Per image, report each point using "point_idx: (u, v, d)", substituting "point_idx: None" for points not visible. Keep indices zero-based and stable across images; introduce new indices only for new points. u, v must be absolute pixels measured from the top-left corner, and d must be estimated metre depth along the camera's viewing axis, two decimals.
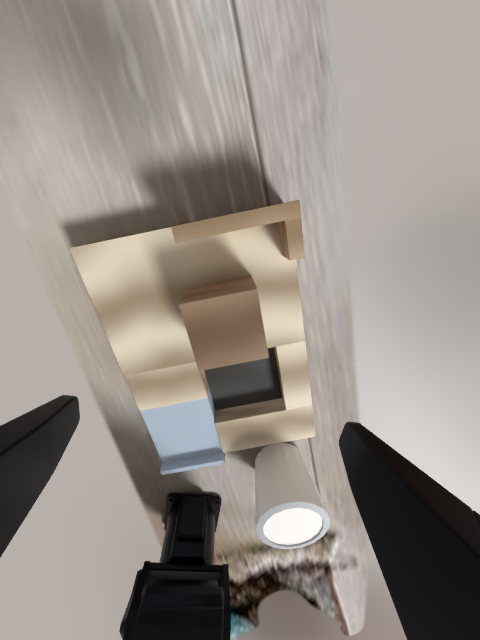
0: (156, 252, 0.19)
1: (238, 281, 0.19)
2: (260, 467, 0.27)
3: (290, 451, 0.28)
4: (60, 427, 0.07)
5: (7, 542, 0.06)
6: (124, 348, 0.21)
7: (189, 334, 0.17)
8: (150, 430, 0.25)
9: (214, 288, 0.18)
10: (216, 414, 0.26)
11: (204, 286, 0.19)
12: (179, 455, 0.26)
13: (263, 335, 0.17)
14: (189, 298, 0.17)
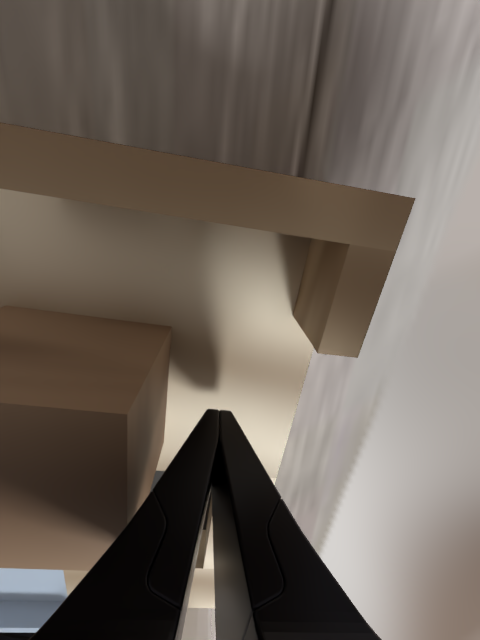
0: None
1: (126, 336, 0.07)
2: None
3: (192, 608, 0.17)
4: None
5: (198, 549, 0.06)
6: None
7: None
8: None
9: (43, 339, 0.06)
10: None
11: (42, 317, 0.07)
12: None
13: (122, 527, 0.06)
14: None
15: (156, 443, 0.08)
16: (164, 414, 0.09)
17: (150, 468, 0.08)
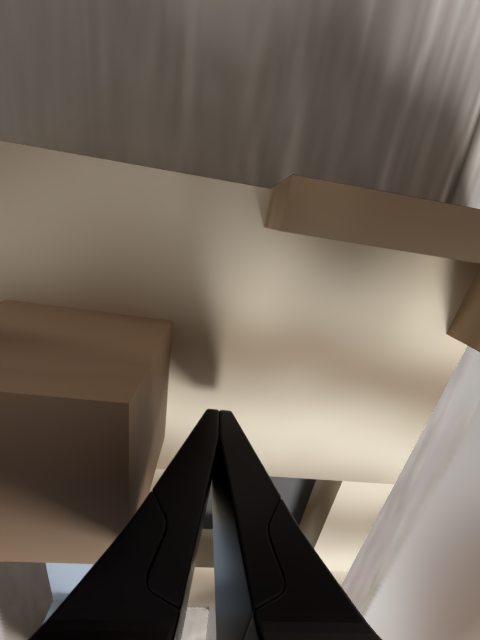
0: (191, 233, 0.07)
1: (126, 329, 0.07)
2: None
3: None
4: None
5: None
6: None
7: None
8: None
9: (44, 332, 0.06)
10: None
11: (42, 310, 0.07)
12: None
13: (123, 519, 0.06)
14: None
15: (157, 437, 0.08)
16: (165, 409, 0.09)
17: (151, 462, 0.08)
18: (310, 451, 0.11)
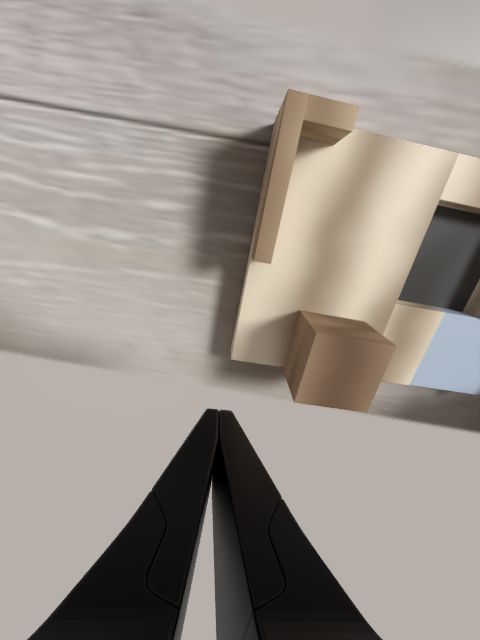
0: (266, 288, 0.18)
1: (299, 329, 0.18)
2: None
3: None
4: None
5: None
6: None
7: (326, 405, 0.17)
8: (437, 387, 0.22)
9: (294, 355, 0.18)
10: (469, 312, 0.20)
11: (288, 357, 0.19)
12: None
13: (368, 343, 0.15)
14: (293, 386, 0.17)
15: (354, 325, 0.18)
16: (345, 319, 0.19)
17: (363, 329, 0.17)
18: (403, 226, 0.17)
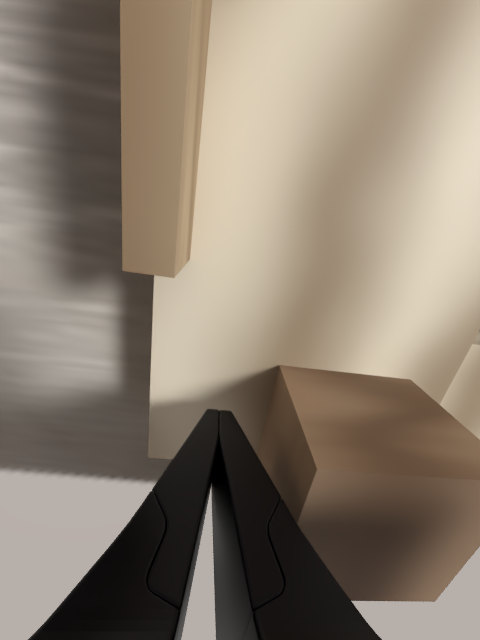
0: (199, 325, 0.08)
1: (278, 410, 0.08)
2: None
3: None
4: None
5: (198, 549, 0.06)
6: None
7: None
8: None
9: (271, 468, 0.08)
10: None
11: (261, 453, 0.10)
12: None
13: (457, 482, 0.06)
14: None
15: (398, 400, 0.08)
16: (373, 379, 0.09)
17: (421, 416, 0.07)
18: None
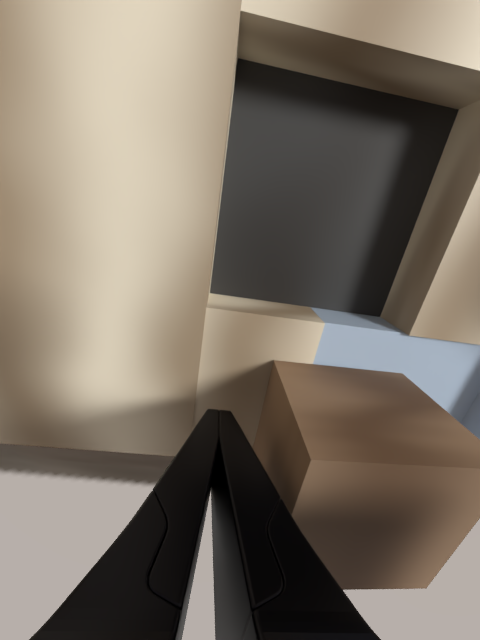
0: None
1: (273, 404, 0.08)
2: None
3: None
4: None
5: None
6: (124, 433, 0.10)
7: None
8: None
9: (266, 462, 0.08)
10: (389, 319, 0.10)
11: (256, 448, 0.10)
12: None
13: (446, 470, 0.06)
14: None
15: (389, 393, 0.08)
16: (366, 373, 0.09)
17: (412, 408, 0.08)
18: (162, 101, 0.06)
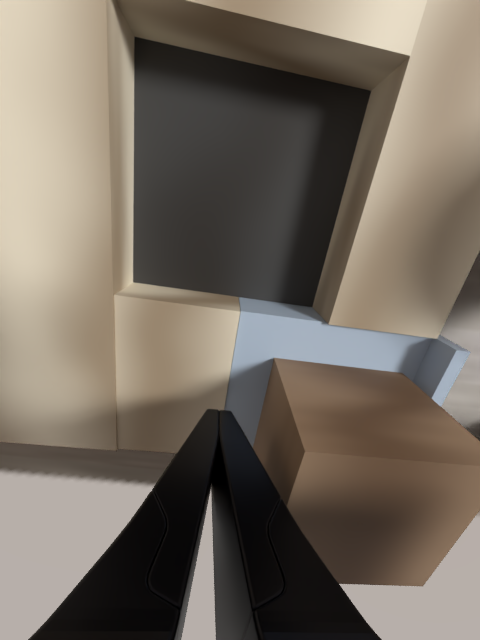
0: None
1: (272, 401, 0.09)
2: None
3: None
4: None
5: (198, 549, 0.06)
6: (46, 425, 0.10)
7: None
8: None
9: (265, 456, 0.09)
10: (318, 309, 0.10)
11: (257, 444, 0.10)
12: None
13: (439, 466, 0.06)
14: None
15: (388, 392, 0.08)
16: (366, 372, 0.09)
17: (410, 407, 0.08)
18: (36, 77, 0.06)
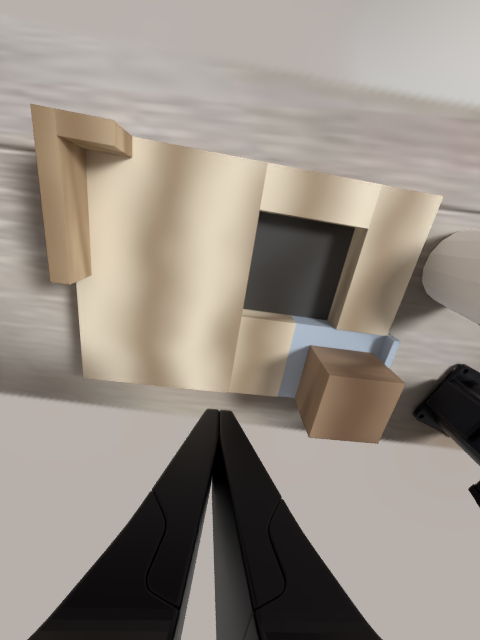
0: (100, 306, 0.17)
1: (310, 364, 0.19)
2: (443, 298, 0.18)
3: (449, 245, 0.18)
4: None
5: None
6: (197, 378, 0.20)
7: (339, 438, 0.18)
8: None
9: (307, 390, 0.19)
10: (330, 321, 0.20)
11: (300, 389, 0.20)
12: None
13: (378, 382, 0.16)
14: (306, 420, 0.18)
15: (363, 359, 0.18)
16: (354, 352, 0.19)
17: (372, 365, 0.18)
18: (229, 238, 0.16)
